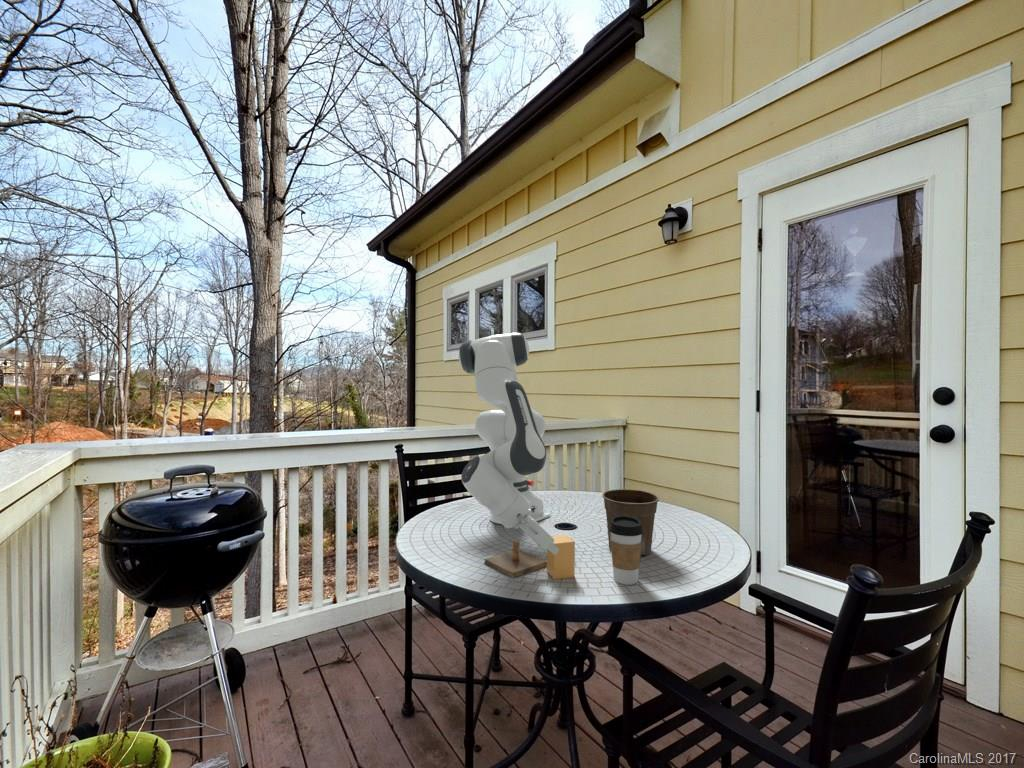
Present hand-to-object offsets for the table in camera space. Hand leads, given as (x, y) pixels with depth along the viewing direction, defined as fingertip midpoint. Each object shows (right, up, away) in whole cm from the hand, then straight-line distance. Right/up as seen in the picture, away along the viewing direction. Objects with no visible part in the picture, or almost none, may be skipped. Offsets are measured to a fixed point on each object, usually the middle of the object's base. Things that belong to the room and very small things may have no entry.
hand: (549, 545), depth 123 cm
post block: (-9, -8, +7) cm, 13 cm away
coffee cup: (+19, -8, -3) cm, 21 cm away
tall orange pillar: (+3, -8, +1) cm, 8 cm away
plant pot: (+25, -8, +18) cm, 32 cm away
